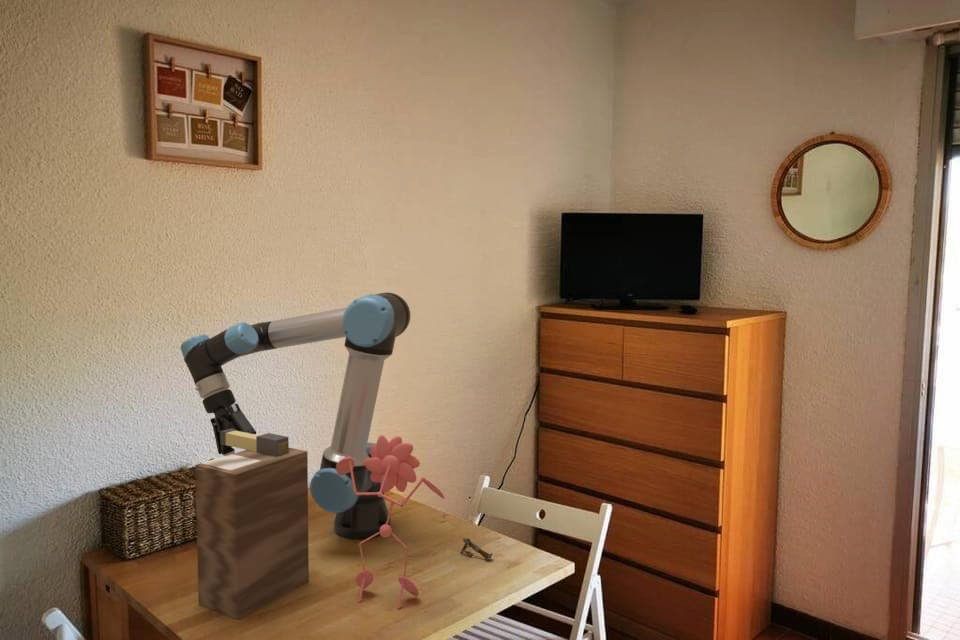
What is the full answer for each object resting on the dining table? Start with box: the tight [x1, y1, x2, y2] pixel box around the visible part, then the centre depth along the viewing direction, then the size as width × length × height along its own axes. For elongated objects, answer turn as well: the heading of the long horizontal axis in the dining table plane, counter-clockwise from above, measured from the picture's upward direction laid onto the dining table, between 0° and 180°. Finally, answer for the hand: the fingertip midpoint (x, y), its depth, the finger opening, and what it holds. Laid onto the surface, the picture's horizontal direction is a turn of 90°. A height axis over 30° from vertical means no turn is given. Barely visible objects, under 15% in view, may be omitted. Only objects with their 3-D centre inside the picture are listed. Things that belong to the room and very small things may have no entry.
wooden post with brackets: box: [460, 537, 493, 562], centre depth 179 cm, size 2×8×4 cm, turn 65°
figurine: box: [336, 434, 445, 614], centre depth 160 cm, size 15×26×35 cm, turn 72°
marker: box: [220, 429, 290, 457], centre depth 163 cm, size 18×4×4 cm, turn 59°
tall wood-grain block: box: [194, 447, 310, 620], centre depth 158 cm, size 12×20×30 cm, turn 149°
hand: (248, 471), depth 185 cm, fingers open, 13 cm apart
